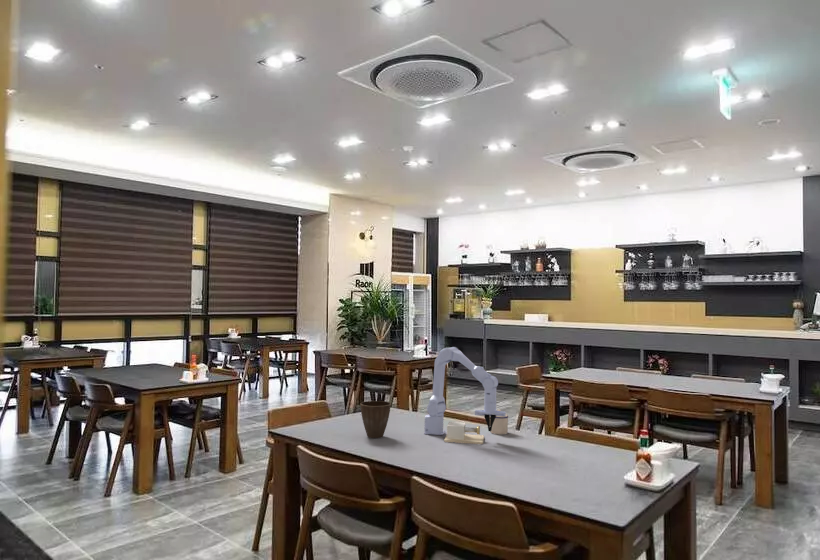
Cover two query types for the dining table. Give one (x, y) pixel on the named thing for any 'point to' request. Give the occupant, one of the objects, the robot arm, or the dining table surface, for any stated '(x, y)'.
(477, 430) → the shaft
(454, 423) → the bearing block
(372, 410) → the plant pot
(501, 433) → the teacup with lid
